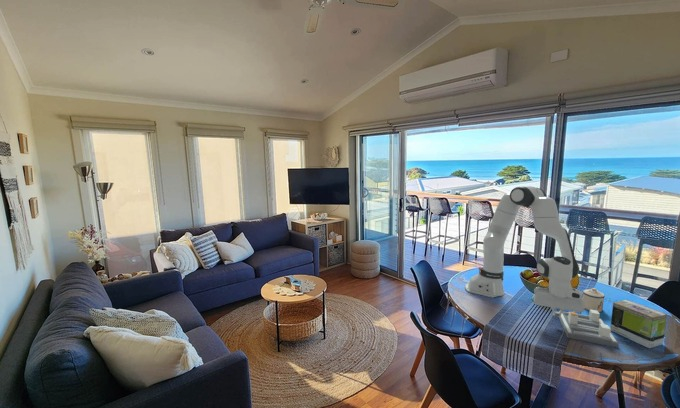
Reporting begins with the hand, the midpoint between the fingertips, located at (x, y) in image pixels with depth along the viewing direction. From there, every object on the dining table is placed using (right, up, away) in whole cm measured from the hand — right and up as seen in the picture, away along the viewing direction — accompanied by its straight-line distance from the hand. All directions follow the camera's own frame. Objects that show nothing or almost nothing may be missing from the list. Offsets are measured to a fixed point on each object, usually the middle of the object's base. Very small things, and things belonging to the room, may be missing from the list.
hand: (556, 315), depth 146 cm
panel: (+10, -5, -4) cm, 12 cm away
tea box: (+28, -6, -11) cm, 31 cm away
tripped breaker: (+6, -3, -2) cm, 7 cm away
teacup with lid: (+32, -2, +16) cm, 36 cm away
